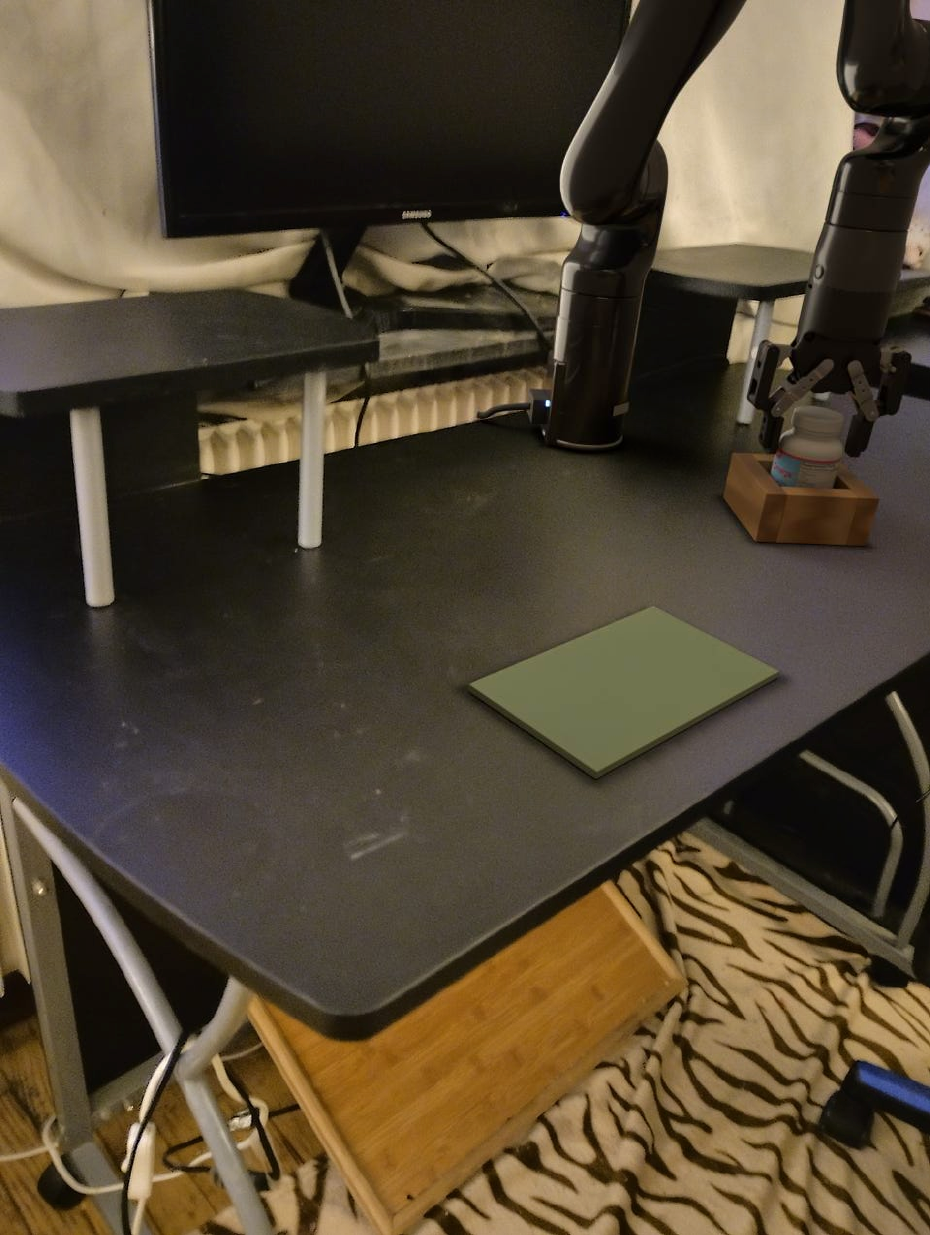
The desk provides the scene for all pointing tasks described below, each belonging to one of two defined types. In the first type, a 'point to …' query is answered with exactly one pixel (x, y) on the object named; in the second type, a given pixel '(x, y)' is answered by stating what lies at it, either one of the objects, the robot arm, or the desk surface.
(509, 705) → the mat
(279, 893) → the desk surface
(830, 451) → the pill bottle
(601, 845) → the desk surface
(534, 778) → the desk surface
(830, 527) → the stand
